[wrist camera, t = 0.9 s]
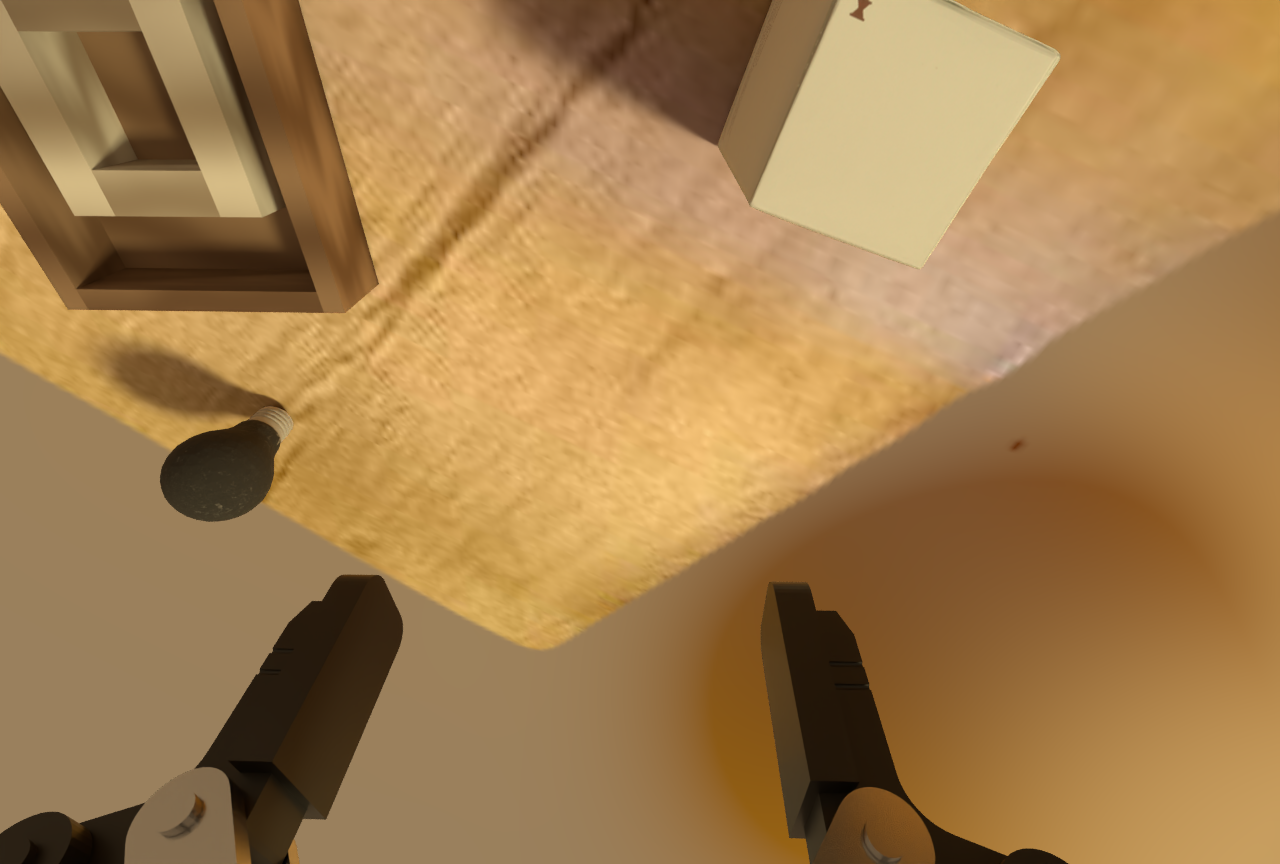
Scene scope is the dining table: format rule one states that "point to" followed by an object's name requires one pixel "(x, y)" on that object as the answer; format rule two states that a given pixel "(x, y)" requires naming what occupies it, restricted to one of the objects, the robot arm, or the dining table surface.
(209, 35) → the box
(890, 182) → the supplement box
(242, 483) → the light bulb
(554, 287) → the dining table surface
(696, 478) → the dining table surface
